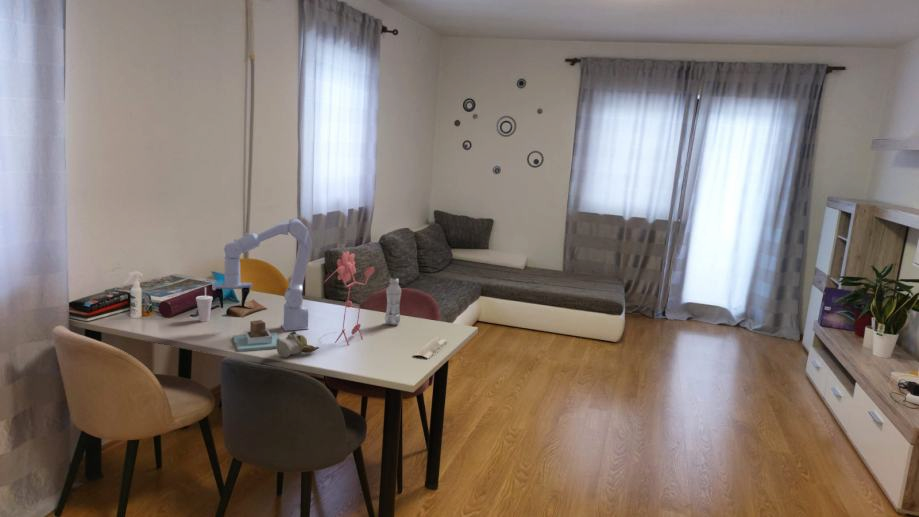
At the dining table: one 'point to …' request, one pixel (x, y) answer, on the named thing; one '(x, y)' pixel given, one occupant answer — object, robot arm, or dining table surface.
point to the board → (243, 346)
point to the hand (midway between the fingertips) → (232, 307)
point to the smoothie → (204, 307)
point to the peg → (257, 328)
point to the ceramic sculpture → (293, 345)
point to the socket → (258, 338)
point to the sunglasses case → (245, 309)
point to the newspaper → (430, 347)
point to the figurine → (345, 272)
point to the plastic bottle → (393, 302)
